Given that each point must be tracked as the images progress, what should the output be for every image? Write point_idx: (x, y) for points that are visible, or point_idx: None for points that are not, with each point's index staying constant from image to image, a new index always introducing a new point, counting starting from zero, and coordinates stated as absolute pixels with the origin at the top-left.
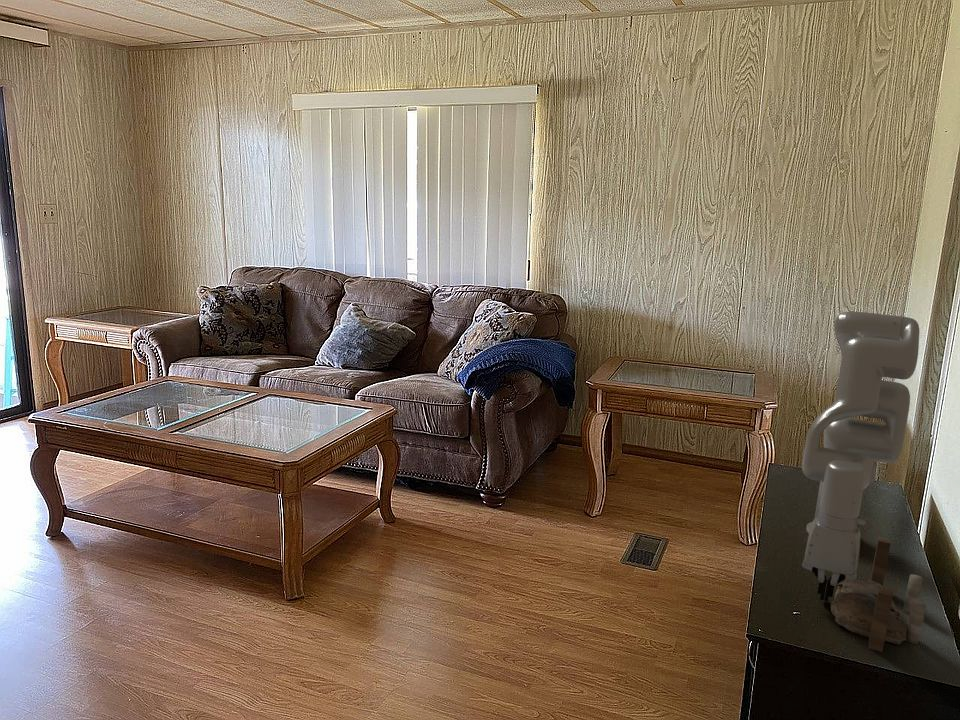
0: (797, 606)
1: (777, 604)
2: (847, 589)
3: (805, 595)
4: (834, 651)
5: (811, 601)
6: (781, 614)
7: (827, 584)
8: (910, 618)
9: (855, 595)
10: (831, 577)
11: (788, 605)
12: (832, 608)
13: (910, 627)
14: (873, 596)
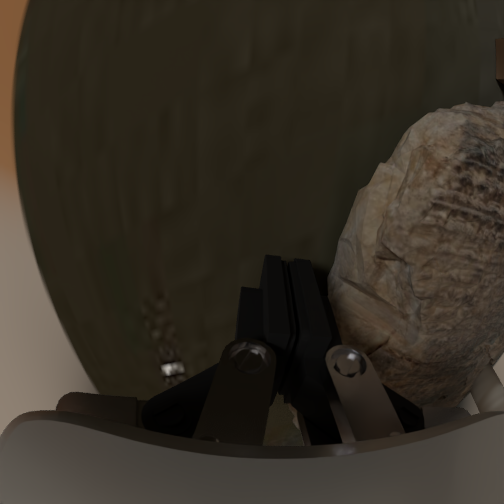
0: (169, 338)
1: (110, 342)
2: (414, 307)
3: (188, 241)
4: (271, 444)
5: (219, 286)
6: (138, 382)
7: (282, 392)
8: (480, 412)
9: (411, 382)
10: (318, 397)
11: (140, 340)
12: (289, 408)
13: (472, 395)
14: (479, 355)
